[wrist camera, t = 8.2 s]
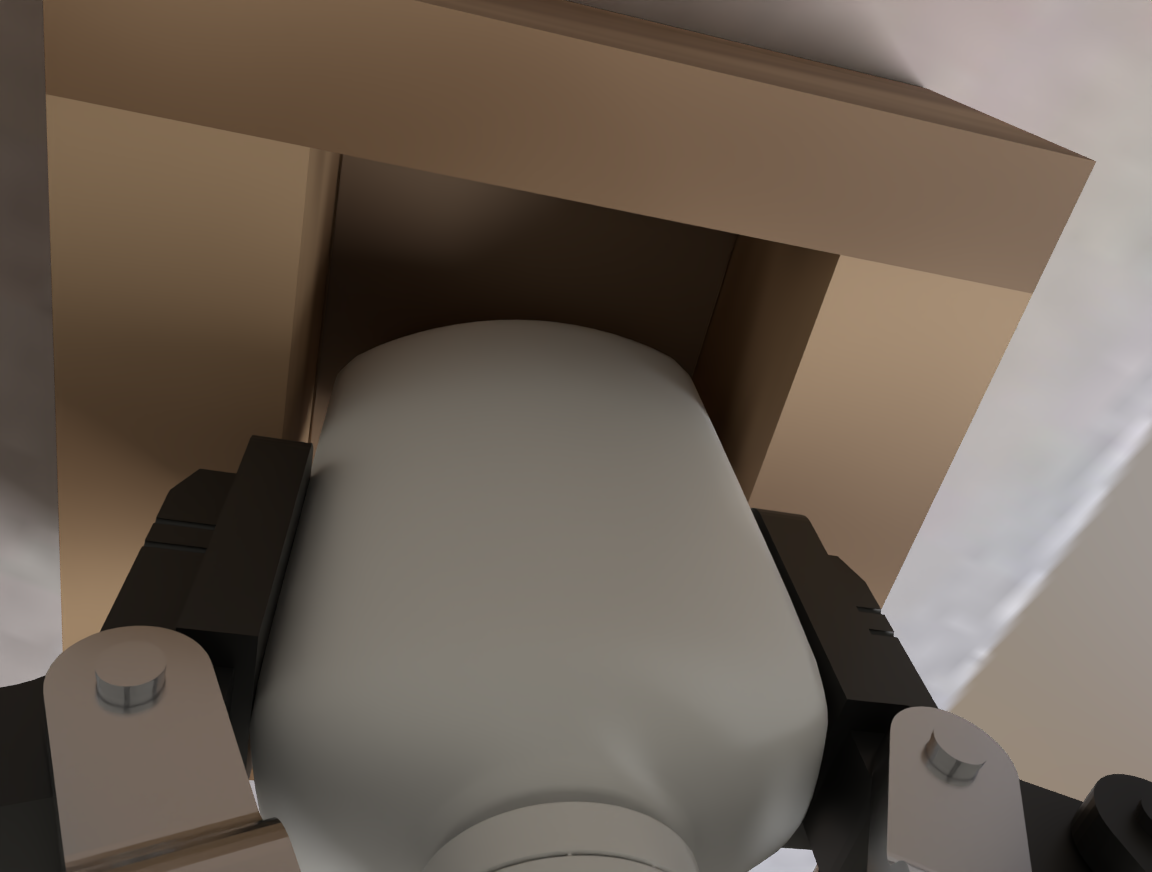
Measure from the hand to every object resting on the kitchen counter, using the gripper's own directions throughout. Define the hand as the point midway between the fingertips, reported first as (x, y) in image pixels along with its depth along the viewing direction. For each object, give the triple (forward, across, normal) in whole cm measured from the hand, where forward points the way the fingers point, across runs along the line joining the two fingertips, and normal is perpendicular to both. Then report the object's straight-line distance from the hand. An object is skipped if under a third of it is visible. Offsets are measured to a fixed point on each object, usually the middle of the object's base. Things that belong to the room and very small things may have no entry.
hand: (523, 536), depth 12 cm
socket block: (+6, 0, 0) cm, 6 cm away
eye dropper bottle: (+4, 0, 0) cm, 4 cm away
